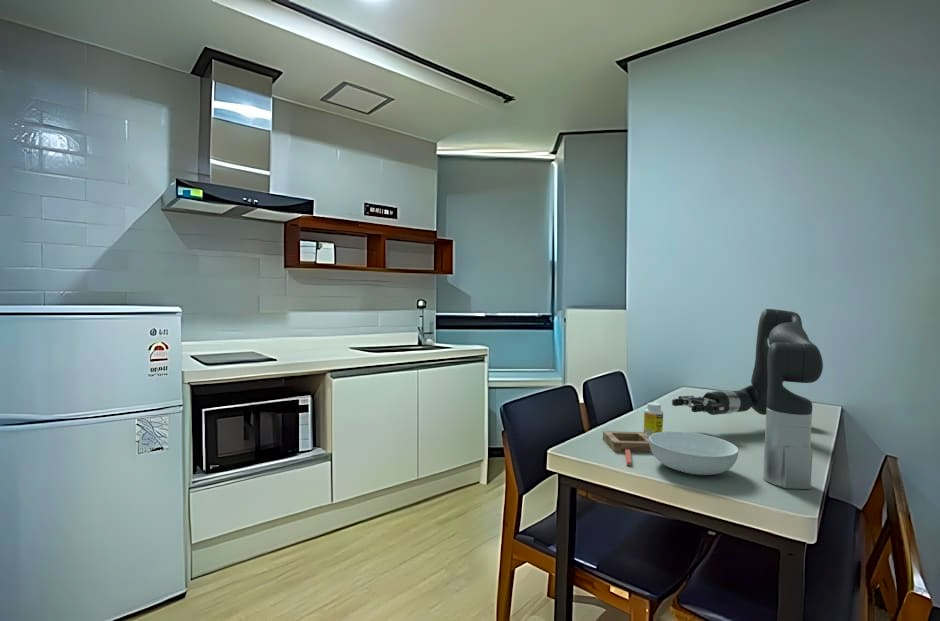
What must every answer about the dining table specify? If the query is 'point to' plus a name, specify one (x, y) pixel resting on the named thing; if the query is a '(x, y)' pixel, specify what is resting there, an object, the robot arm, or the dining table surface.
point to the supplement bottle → (653, 419)
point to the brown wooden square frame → (627, 441)
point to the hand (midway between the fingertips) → (682, 405)
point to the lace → (628, 457)
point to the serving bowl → (693, 452)
